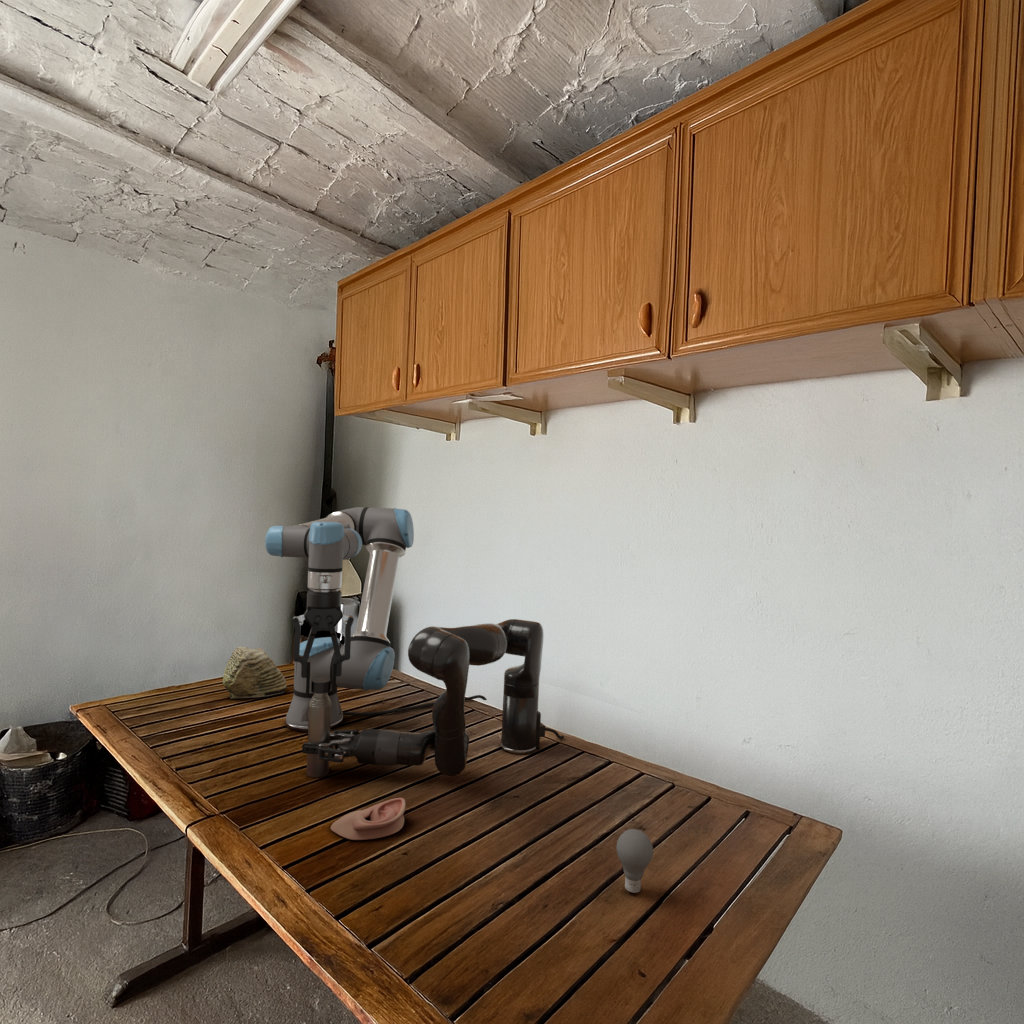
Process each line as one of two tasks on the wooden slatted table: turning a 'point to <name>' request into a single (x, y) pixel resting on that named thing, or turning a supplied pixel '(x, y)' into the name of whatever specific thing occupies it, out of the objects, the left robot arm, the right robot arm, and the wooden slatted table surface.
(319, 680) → the cap
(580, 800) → the wooden slatted table surface
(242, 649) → the fossil
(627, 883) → the light bulb
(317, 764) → the bottle
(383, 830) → the anatomical model
